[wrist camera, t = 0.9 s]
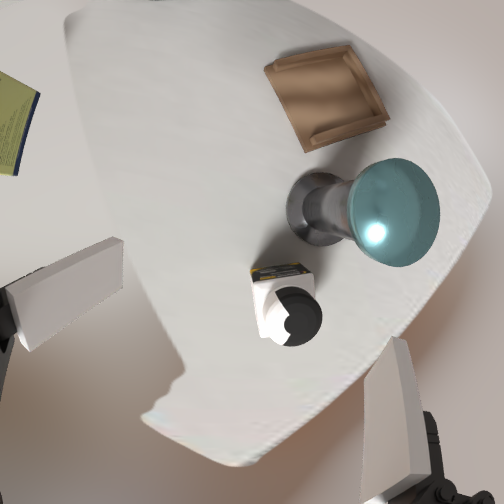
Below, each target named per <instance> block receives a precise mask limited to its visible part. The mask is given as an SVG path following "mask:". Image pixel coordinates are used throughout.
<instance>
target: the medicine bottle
mask: <svg viewBox="0 0 504 504" xmlns="http://www.w3.org/2000/svg"><path fill="white" fill-rule="evenodd" d="M250 279H251V286H252V294H253V301H254V308H255V315H256V320H257V324H258V329H259V333H260V337H262V338H265V337H271V338H272V339H273V340H274V341H275V342H277V343H278V344H281V345H284V346H299V345H302V344H304V343H306V342H308V341H309V340H311V339H312V338H313V337H314V336H315V335H316V334H317V332H318V331H319V329H320V327H321V324H322V311H321V308H320V306H319V304H318V303H317V301H316V299H315V286H314V275H313V274H312V273H311V272H310V271H309V270H308V269H306V268H305V267H304V266H303V265H301V264H300V263H292V264H286V265H279V266H272V267H266V268H259V269H252V270H250Z"/></svg>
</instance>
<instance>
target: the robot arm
mask: <svg viewBox="0 0 504 504" xmlns="http://www.w3.org/2000/svg"><path fill="white" fill-rule="evenodd" d="M123 243H124V241H123V240H120V239H118V238H115V237H111V238H108V239H106V240H103V241H101V242H99V243H96V244H94V245H92V246H90V247H87V248H85V249H83V250H81V251H78V252H76V253H74V254H72V255H70V256H67V257H65V258H63V259H61V260H59V261H57V262H55V263H53V264H50V265H48V266H46V267H42V268H40V269H37V270H35V271H34V272H33V273H29V274H27V275H26V276H23V277H21V278H19V279H18V280H16V281H14V282H12V283H10V284H8V285H6V286H4V287H2V288H0V400H1V395H2V389H3V384H4V379H5V375H6V371H7V367H8V363H9V359H10V355H11V352H12V348H13V345H14V339H15V338H14V334H15V333H16V332H17V333H18V336H19V339H20V341H21V343H22V344H23V346H24V347H25V348H26V349H27V350H28V351H29V352H31V351H33V350H34V349H35V348H37V347H38V346H39V345H41V344H42V343H43V342H45V341H46V340H48V339H49V338H50V337H52V336H53V335H54V334H56V333H57V332H59V331H60V330H61V329H63V328H64V327H66V326H67V325H68V324H70V323H72V322H73V321H74V320H76V319H77V318H79V317H80V316H82V315H83V314H84V313H86V312H87V311H89V310H90V309H92V308H93V307H95V306H96V305H98V304H99V303H101V302H102V301H104V300H105V299H107V298H108V297H110V296H111V295H113V294H114V293H116V292H117V291H119V290H120V289H122V287H123V285H122V284H123ZM364 399H365V400H364V413H365V414H364V447H363V465H362V477H361V489H360V498H359V504H384V503H386V502H388V504H495V501H494V498H493V496H492V494H491V493H489V492H488V491H480V492H478V493H477V494H475V495H474V496H472V497H469V496H465V495H462V494H458V493H457V490H456V487H455V485H454V484H453V483H452V482H451V481H450V480H448V479H445V477H444V470H443V462H442V454H441V448H440V445H439V443H440V441H439V436H437V435H438V430H437V425H436V422H435V420H434V418H433V416H432V414H431V413H430V412H427V411H423V410H422V405H421V400H420V395H419V391H418V386H417V381H416V377H415V372H414V368H413V364H412V360H411V357H410V353H409V349H408V345H407V342H406V340H403V339H400V338H396V337H393V336H391V338H390V340H389V342H388V343H387V345H386V347H385V348H384V350H383V351H382V353H381V355H380V356H379V358H378V359H377V361H376V363H375V364H374V366H373V367H372V369H371V370H370V372H369V373H368V375H367V376H366V378H365V379H364ZM0 504H3V501H2V495H1V493H0Z"/></svg>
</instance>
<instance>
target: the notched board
mask: <svg viewBox="0 0 504 504" xmlns="http://www.w3.org/2000/svg"><path fill="white" fill-rule="evenodd" d="M264 72H265V74H266V76H267V77H268V79H269V81H270V83H271V85H272V87H273V89H274V90H275V92H276V94H277V96H278V98H279V100H280V102H281V104H282V106H283V108H284V110H285V112H286V114H287V116H288V118H289V120H290V122H291V124H292V126H293V128H294V131H295V133H296V135H297V137H298V139H299V141H300V143H301V146H302V148H303V150H304V152H305V153H307V152H310V151H313V150H315V149H318V148H321V147H324V146H327V145H329V144H332V143H335V142H338V141H341V140H344V139H347V138H350V137H353V136H356V135H359V134H362V133H365V132H368V131H371V130H375V129H378V128H381V127H384V126H386V123H385V121H387V120H389V119H390V117H389V115H388V113H387V111H386V109H385V107H384V105H383V103H382V101H381V99H380V97H379V95H378V93H377V91H376V89H375V87H374V85H373V83H372V82H371V80H370V78H369V76H368V74H367V73H366V71H365V69H364V67H363V66H362V64H361V62H360V61H359V59H358V57H357V56H356V54H355V52H354V51H353V49H352V48H351V46H350V45H346V46H339V47H333V48H327V49H321V50H316V51H311V52H306V53H302V54H297V55H293V56H289V57H285V58H281V59H277V60H275V61H274V64H273V65H269V66H266V67H264Z"/></svg>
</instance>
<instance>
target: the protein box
mask: <svg viewBox="0 0 504 504" xmlns="http://www.w3.org/2000/svg"><path fill="white" fill-rule="evenodd" d="M39 97H40V93H39V92H38V91H35V90H34V89H32V88H30V87H28V86H27V85H25V84H23V83H21V82H19V81H17V80H16V79H14V78H12V77H10V76H8V75H6V74H5V73H3V72H1V71H0V175H9V176H18V171H19V167H20V162H21V157H22V153H23V149H24V145H25V141H26V137H27V134H28V130H29V127H30V124H31V121H32V117H33V114H34V111H35V108H36V106H37V103H38V100H39Z"/></svg>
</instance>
